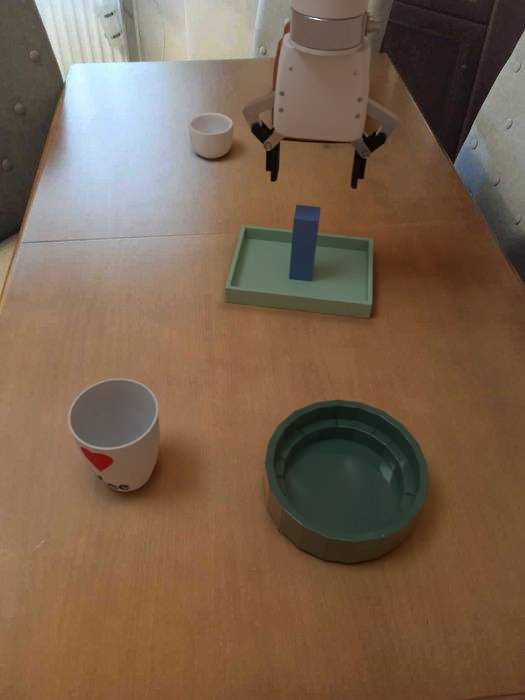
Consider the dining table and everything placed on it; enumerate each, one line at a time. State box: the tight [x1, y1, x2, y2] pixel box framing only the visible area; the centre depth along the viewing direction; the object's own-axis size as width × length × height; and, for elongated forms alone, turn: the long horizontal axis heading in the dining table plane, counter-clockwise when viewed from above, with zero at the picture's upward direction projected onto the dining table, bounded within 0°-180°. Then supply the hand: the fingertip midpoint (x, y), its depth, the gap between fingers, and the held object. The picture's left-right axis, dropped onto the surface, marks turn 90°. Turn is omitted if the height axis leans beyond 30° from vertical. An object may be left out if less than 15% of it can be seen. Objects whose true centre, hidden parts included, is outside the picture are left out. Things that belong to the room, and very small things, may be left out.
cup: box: [67, 377, 161, 493], centre depth 58 cm, size 8×8×10 cm
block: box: [289, 204, 321, 281], centre depth 80 cm, size 3×3×10 cm
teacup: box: [187, 112, 234, 159], centre depth 105 cm, size 10×8×5 cm
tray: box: [224, 224, 374, 319], centre depth 83 cm, size 19×14×2 cm
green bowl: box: [262, 399, 430, 564], centre depth 59 cm, size 16×16×5 cm
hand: (314, 179), depth 72 cm, fingers open, 9 cm apart
